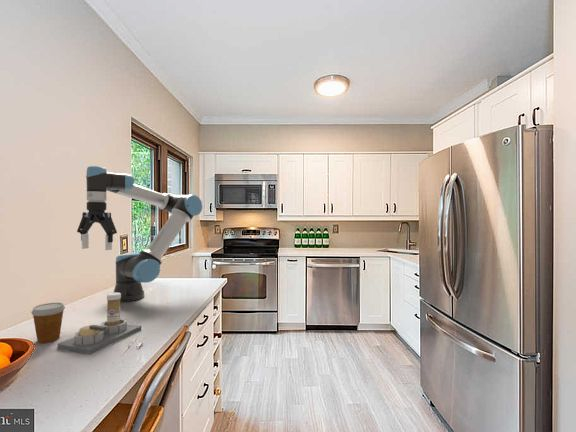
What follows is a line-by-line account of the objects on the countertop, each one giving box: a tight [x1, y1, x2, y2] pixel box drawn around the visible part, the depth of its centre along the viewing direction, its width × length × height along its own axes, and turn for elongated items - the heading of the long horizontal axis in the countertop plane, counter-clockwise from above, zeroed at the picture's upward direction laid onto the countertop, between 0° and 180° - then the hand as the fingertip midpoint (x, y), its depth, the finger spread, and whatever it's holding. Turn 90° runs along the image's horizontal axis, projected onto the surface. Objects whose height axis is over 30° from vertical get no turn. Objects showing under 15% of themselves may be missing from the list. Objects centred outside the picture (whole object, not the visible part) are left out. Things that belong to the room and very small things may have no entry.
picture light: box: [119, 337, 144, 357], centre depth 107 cm, size 14×4×2 cm, turn 7°
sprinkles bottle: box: [106, 292, 121, 326], centre depth 118 cm, size 5×5×14 cm
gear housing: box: [57, 318, 142, 355], centre depth 113 cm, size 22×14×6 cm, turn 162°
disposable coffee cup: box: [30, 302, 66, 344], centre depth 112 cm, size 10×10×12 cm
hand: (96, 249), depth 140 cm, fingers open, 13 cm apart
